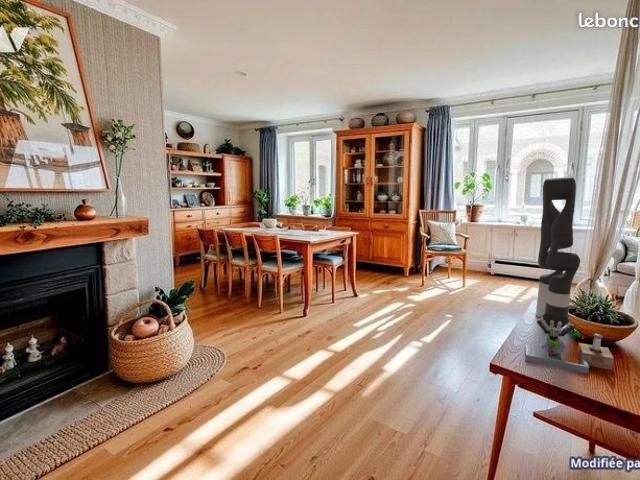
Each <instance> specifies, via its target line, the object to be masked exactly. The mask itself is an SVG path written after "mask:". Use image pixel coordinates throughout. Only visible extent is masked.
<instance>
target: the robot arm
mask: <svg viewBox="0 0 640 480" xmlns="http://www.w3.org/2000/svg"><path fill="white" fill-rule="evenodd" d="M576 192H577V184H576V180H575V178H574V177H572V176H560V177H559V176H558V177H548V178H546V179H545V180H544V181H543V185H542V214H541V215H542V216H541V225H540V243H539V244H540V245H539V252H538V258H537V263H538V267H540V268H541V269H546V270H547V269H548V270H551V271H553V272H550V273H546V274H541V275H540V277H539V281H538V290H537V291H538V292H537V297H536V310H535V316H536V317H538V318H536V322H537V323H536V324H537V325H538V326H539V327H540V329H541V330H542V331H543V333H544V334H545V335H548V339H551V340H553V341H555V340H556V339H557V338H558V339H559V338H560V337H565V336H566V335H568V334H569V333H571V332H570V331H572V330H573V329H574V328H575V327H574V325H573V324H571V323H570V322H569V319H568V312H569V309H570V305H571V288H572V282H573V280H574V277H575V275H576V273H577V271H578V269H579V267H580V266H581V265H580V264H581V259H580V257H579V255H578V254H577V253H576V252H575V253H574V252H565V251H562V250H563V249H569V248H571V247H572V246H573V245H574V229H573V226H574V225H573V223H574V216H575V215H574V214H575V205H576V197H577V196H576V195H577V194H576ZM563 200H564V201H565V203H564V206H563V208H562V209H561V211H560V210H558V208H557V207H556V206H555V204H554V203H553V201H563ZM545 323H546V325H547V326H548V327H549V329H548V328H547V327H546V326H545ZM564 327H565V328H564ZM561 329H562V330H561ZM558 339H557V340H558Z"/></svg>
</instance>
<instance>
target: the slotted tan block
mask: <svg viewBox="0 0 640 480" xmlns="http://www.w3.org/2000/svg"><path fill="white" fill-rule="evenodd" d="M592 346H593V344H587V343H582V342H578V346H577V347H578V348H577V352H576V353H577V356H578V359H579V360H580V354H581V359H582V358H585V359H586V361H587V364H588V366H589V367H594V368H599V369H602V370H609V371H612V370H613V367H614V361H615V360H614V359H615V358H614V355H612V353H611V351H610V350H609V347H605V346H604V347H603V346H600V351H599V353H597V352H592ZM581 362H582V361H581ZM581 362H580V363H581Z"/></svg>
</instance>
